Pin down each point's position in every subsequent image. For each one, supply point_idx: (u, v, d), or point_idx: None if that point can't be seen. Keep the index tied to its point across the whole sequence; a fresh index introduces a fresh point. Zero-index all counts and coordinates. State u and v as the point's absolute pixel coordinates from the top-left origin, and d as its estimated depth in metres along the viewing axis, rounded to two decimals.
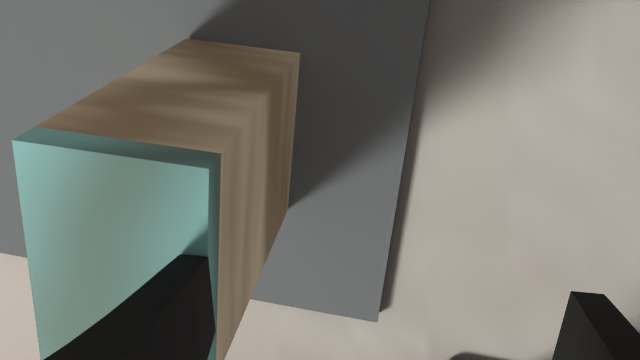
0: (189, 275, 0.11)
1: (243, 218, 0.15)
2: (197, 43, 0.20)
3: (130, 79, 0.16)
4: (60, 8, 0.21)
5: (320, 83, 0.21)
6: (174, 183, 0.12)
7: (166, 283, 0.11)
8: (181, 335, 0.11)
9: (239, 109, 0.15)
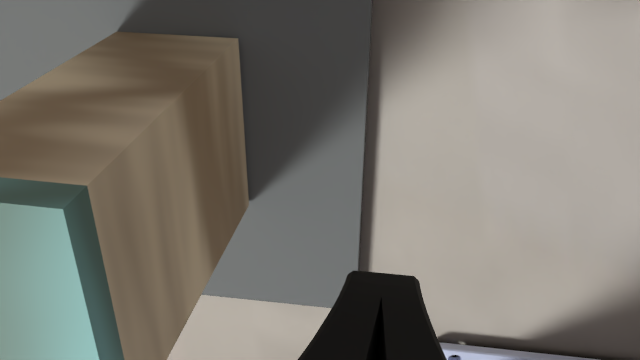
0: (378, 294, 0.11)
1: (155, 239, 0.14)
2: (126, 37, 0.19)
3: (28, 92, 0.15)
4: None
5: (265, 68, 0.19)
6: (31, 225, 0.10)
7: (360, 303, 0.11)
8: (373, 356, 0.11)
9: (135, 122, 0.13)
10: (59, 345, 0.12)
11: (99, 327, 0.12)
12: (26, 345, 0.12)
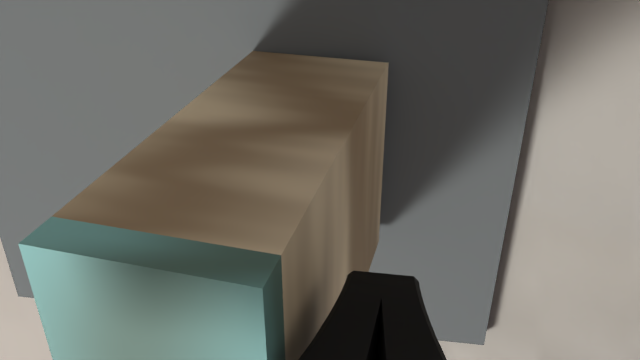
0: (379, 294, 0.11)
1: (320, 300, 0.12)
2: (265, 58, 0.17)
3: (179, 125, 0.13)
4: (98, 27, 0.18)
5: (415, 90, 0.18)
6: (220, 302, 0.09)
7: (361, 303, 0.11)
8: (374, 356, 0.11)
9: (310, 168, 0.12)
10: None
11: None
12: None
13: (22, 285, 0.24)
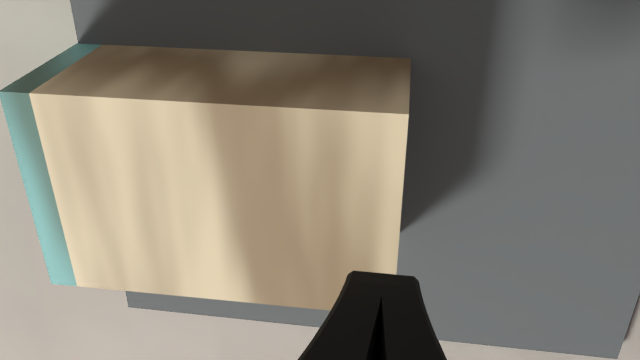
0: (378, 294, 0.11)
1: (129, 192, 0.16)
2: (392, 64, 0.17)
3: (224, 54, 0.18)
4: (249, 34, 0.18)
5: (581, 99, 0.17)
6: None
7: (360, 303, 0.11)
8: (373, 356, 0.11)
9: (140, 93, 0.15)
10: None
11: (33, 191, 0.16)
12: None
13: (134, 296, 0.23)
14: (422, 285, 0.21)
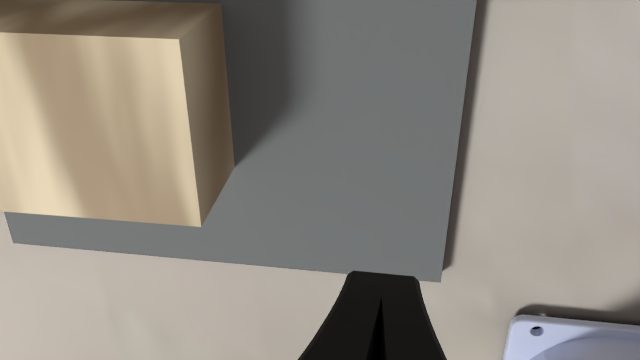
0: (378, 294, 0.11)
1: None
2: (200, 7, 0.19)
3: (61, 1, 0.20)
4: None
5: (369, 38, 0.20)
6: None
7: (360, 303, 0.11)
8: (373, 356, 0.11)
9: None
10: None
11: None
12: None
13: (17, 232, 0.26)
14: (263, 216, 0.24)
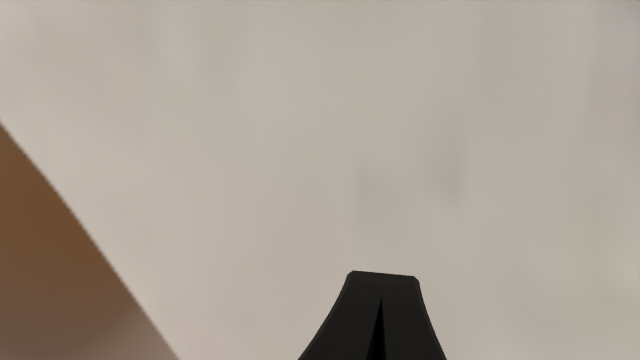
0: (378, 294, 0.11)
1: None
2: None
3: None
4: None
5: None
6: None
7: (360, 303, 0.11)
8: (373, 356, 0.11)
9: None
10: None
11: None
12: None
13: None
14: None
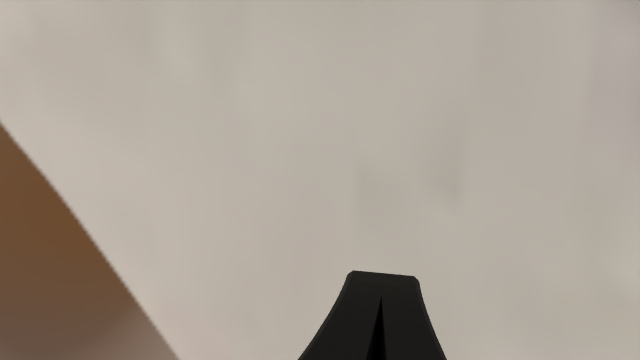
0: (378, 294, 0.11)
1: None
2: None
3: None
4: None
5: None
6: None
7: (360, 303, 0.11)
8: (373, 356, 0.11)
9: None
10: None
11: None
12: None
13: None
14: None
